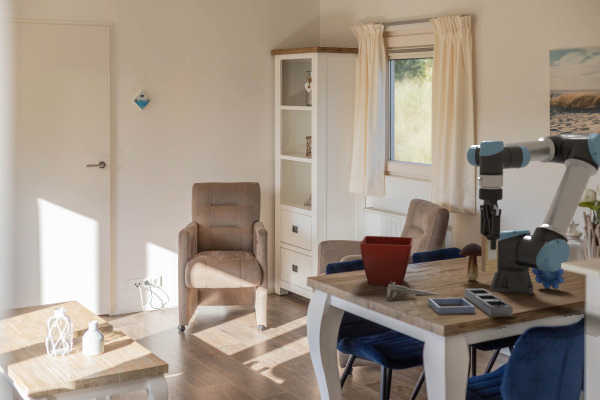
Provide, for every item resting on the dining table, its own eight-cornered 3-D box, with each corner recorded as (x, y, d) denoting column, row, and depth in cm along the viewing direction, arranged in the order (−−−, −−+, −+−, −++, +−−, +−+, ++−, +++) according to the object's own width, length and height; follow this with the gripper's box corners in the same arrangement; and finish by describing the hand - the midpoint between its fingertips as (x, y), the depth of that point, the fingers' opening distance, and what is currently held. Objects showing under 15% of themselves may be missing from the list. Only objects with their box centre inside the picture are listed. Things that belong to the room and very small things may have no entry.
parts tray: (462, 306, 239) (463, 297, 238) (474, 315, 227) (474, 306, 227) (428, 307, 238) (428, 298, 237) (438, 316, 226) (438, 307, 225)
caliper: (387, 299, 250) (387, 281, 249) (386, 298, 251) (387, 281, 250) (443, 298, 252) (444, 280, 251) (442, 297, 253) (443, 280, 252)
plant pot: (409, 289, 265) (410, 244, 263) (359, 286, 268) (359, 243, 267) (412, 278, 283) (412, 237, 282) (364, 276, 287) (365, 235, 285)
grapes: (529, 289, 265) (530, 257, 264) (532, 285, 271) (533, 255, 270) (562, 292, 259) (563, 260, 258) (564, 289, 265) (565, 257, 264)
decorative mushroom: (455, 281, 278) (456, 244, 276) (462, 276, 287) (463, 240, 286) (483, 284, 273) (484, 246, 271) (489, 279, 282) (490, 242, 281)
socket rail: (464, 299, 248) (464, 288, 248) (483, 299, 249) (484, 288, 248) (490, 319, 222) (491, 307, 222) (512, 319, 223) (512, 306, 222)
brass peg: (492, 270, 236) (493, 234, 235) (497, 272, 233) (497, 236, 231) (481, 270, 236) (481, 235, 235) (485, 272, 232) (486, 236, 231)
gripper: (471, 185, 239) (470, 253, 242) (488, 190, 223) (487, 263, 225) (492, 185, 240) (491, 252, 243) (511, 189, 223) (510, 262, 226)
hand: (489, 257), depth 234 cm, fingers closed on brass peg, 4 cm apart
